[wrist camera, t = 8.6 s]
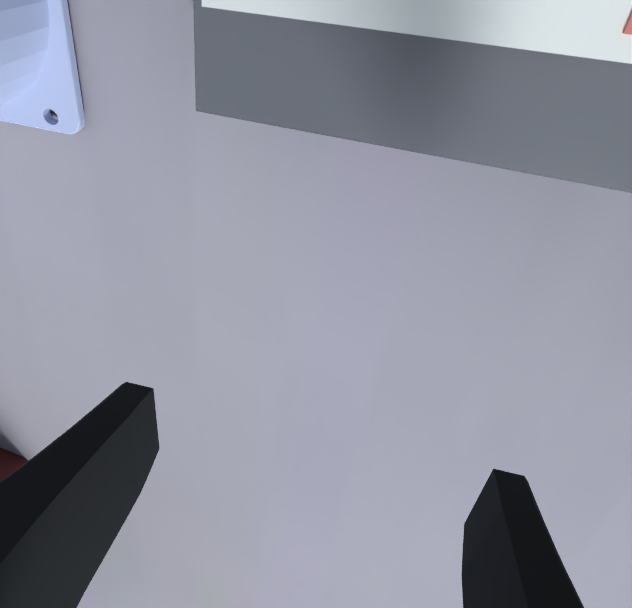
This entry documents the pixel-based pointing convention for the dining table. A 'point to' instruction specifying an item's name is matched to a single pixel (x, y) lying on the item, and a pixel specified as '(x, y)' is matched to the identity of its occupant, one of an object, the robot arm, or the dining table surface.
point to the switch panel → (420, 94)
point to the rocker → (475, 21)
